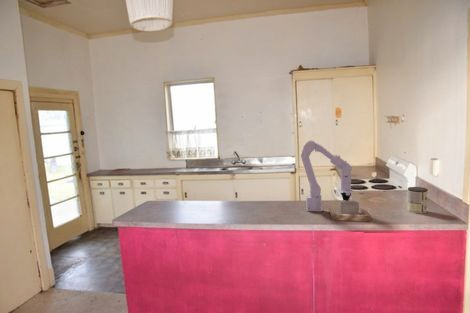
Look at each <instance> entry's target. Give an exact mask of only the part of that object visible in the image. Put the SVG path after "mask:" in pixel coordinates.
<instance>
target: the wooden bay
mask: <svg viewBox="0 0 470 313" xmlns="http://www.w3.org/2000/svg"><path fill="white" fill-rule="evenodd" d="M359 213H360V214H341V213H337V212H336V210H335V209H334V207H333V206H329V214H330V216H331V218H332V220H333V221H346V222H347V221H350V222H351V221H354V222H372V216H371V214H370V213H369V212H368V211H367V210H366V209H365V207H359Z"/></svg>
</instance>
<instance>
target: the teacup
mask: <svg viewBox="0 0 470 313" xmlns="http://www.w3.org/2000/svg"><path fill="white" fill-rule="evenodd" d="M339 211H340V214H357V215H359V213H360V203H359V201H357V200H356V201H355V200H349V201H346V200H344V201H343V200H342V201H340V202H339Z"/></svg>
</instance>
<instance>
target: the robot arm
mask: <svg viewBox="0 0 470 313" xmlns="http://www.w3.org/2000/svg"><path fill="white" fill-rule="evenodd" d="M313 152H316V153H317V152H318V153H321V154H322V155H323V156H325V157H326V158H327V159H329V160H330V161H329V162H330V163H331V164H332V165H334V166H335V167H336V168H337V169H340V170H341V175H340V195H341V198H342V201H344V200H346V201H350V198H351V196H352V193H351V192H353V191H354V189H352V175H351V174H352V170H353V169H352V166H351V164H350V163H348V162H347V160H344V159H342V158H341V156H340V155H337V154H335V155H333V154H332V153H331V152H330V151H328V150H327V149H326V148H324V146H322V145H321V144H319V143H317V142H315V141H314V140H308V141H307V142H306V143H305V144H304V145H303V148H302V151H301V154H300V158H301V161H302V164H303V168H304V171H305V173H306V176H307V180H308V183H309V187H310V190H309V192H310V194H309V195H307V196H306V197H305V198H306V199H305V200H306V201H305V208H306V212H323V211H324V210H323V208H322V195H321V190H322V188H321V186H320V185H319V183H318V181H317V179H316V175H315V172H314V169H313V166H312V163H311V160H310V155H311V154H312V153H313Z"/></svg>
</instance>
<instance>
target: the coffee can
mask: <svg viewBox="0 0 470 313" xmlns="http://www.w3.org/2000/svg"><path fill="white" fill-rule="evenodd" d="M427 208H428V189H427V188H426V187H422V186H409V187H407V212H409V213H413V214H420V215H421V214H427V210H428V209H427Z"/></svg>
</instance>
